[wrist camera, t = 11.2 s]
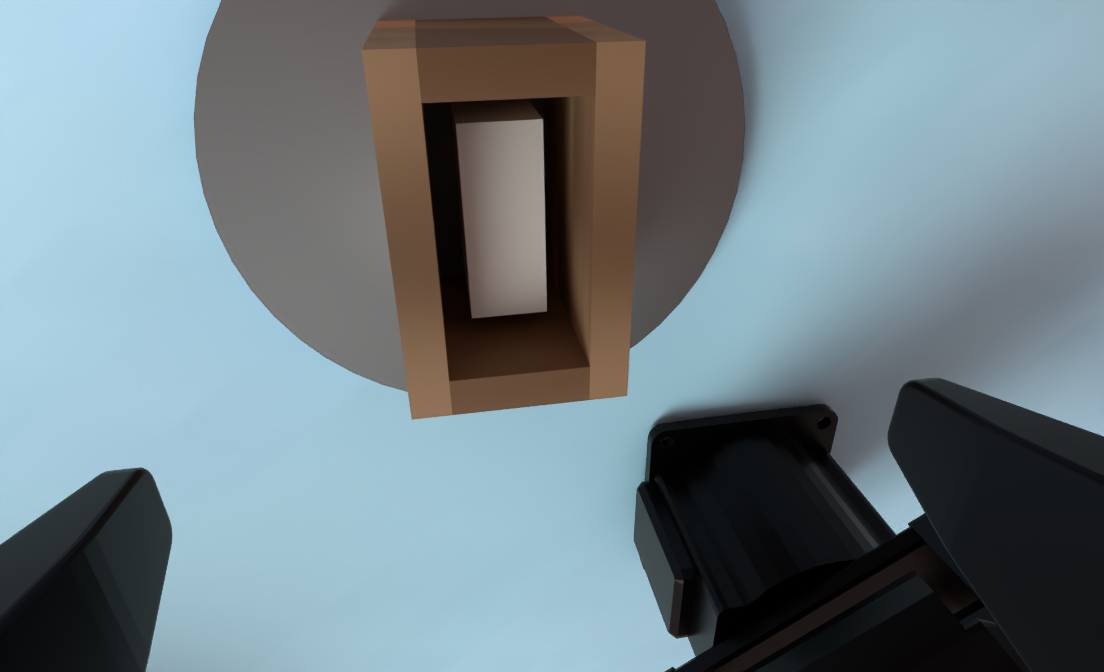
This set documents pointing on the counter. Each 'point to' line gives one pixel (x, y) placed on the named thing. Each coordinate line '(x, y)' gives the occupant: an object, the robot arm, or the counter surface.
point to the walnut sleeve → (572, 206)
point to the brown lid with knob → (443, 166)
